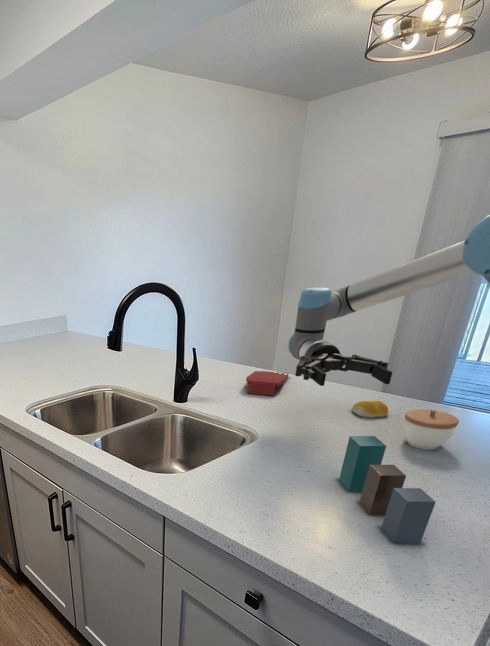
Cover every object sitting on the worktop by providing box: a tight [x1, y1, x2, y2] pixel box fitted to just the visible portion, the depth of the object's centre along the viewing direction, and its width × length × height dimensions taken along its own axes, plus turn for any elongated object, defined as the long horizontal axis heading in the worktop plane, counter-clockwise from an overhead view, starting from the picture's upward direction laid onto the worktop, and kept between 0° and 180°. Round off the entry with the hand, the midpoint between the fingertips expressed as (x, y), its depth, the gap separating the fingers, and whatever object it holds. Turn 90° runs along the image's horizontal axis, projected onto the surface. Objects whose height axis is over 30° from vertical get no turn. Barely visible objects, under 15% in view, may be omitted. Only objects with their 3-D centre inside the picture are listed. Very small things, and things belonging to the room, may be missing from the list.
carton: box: [245, 370, 289, 397], centre depth 160 cm, size 12×5×25 cm
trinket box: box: [402, 408, 460, 451], centre depth 109 cm, size 11×11×9 cm
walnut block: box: [358, 464, 407, 516], centre depth 86 cm, size 4×4×9 cm
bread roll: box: [351, 400, 389, 419], centre depth 130 cm, size 8×9×4 cm
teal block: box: [338, 435, 387, 493], centre depth 93 cm, size 5×5×11 cm
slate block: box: [380, 487, 437, 545], centre depth 78 cm, size 4×4×9 cm
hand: (356, 379), depth 95 cm, fingers open, 13 cm apart
